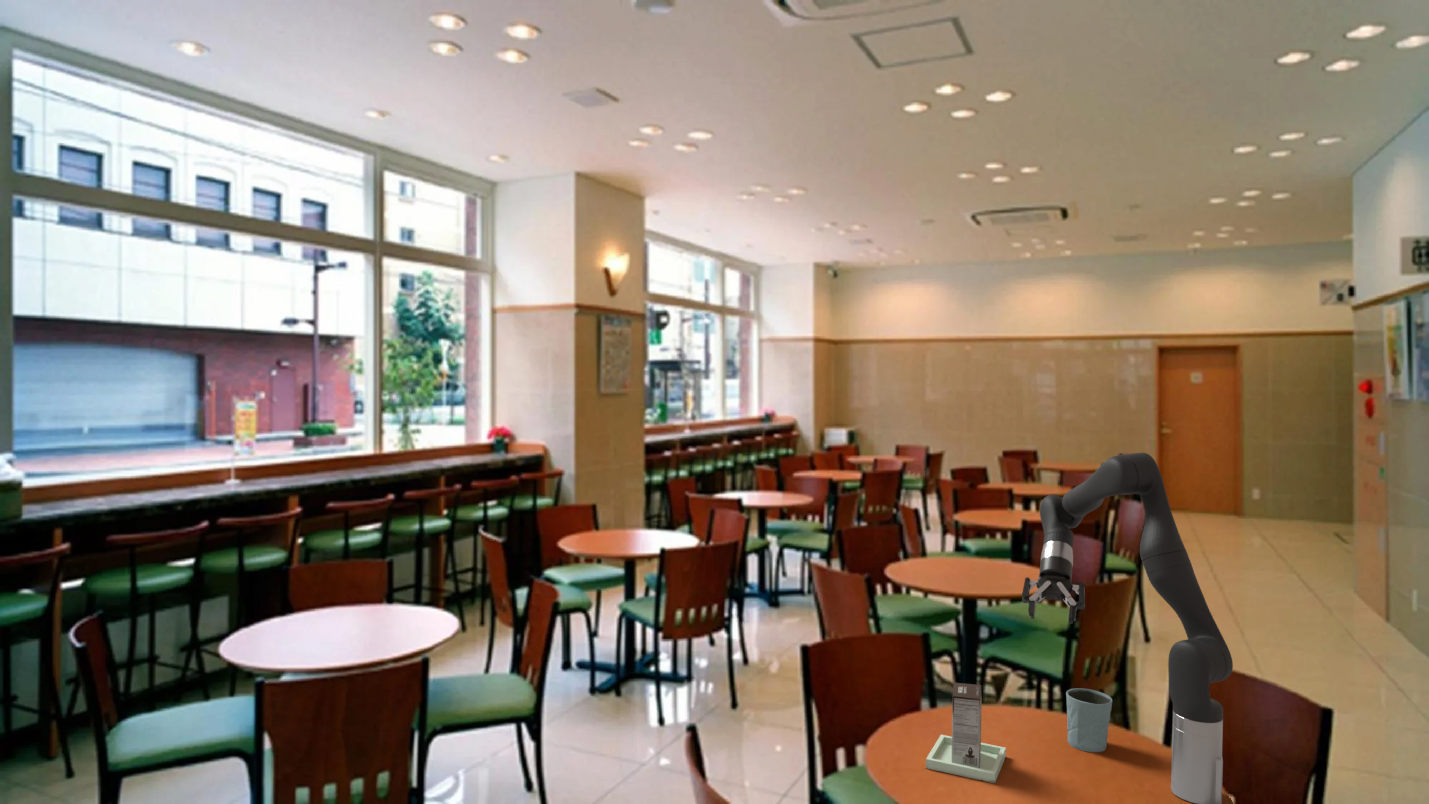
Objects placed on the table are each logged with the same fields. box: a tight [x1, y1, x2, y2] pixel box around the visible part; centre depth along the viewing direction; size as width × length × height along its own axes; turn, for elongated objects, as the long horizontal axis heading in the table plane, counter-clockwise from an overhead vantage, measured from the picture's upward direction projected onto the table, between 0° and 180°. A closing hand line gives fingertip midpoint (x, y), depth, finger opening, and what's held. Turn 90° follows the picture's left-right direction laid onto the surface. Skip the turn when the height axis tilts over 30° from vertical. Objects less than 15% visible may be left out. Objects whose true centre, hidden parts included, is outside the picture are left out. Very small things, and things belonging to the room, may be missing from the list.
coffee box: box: [951, 682, 983, 768], centre depth 194 cm, size 9×6×16 cm
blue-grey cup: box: [1065, 687, 1113, 753], centre depth 203 cm, size 10×10×12 cm
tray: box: [925, 734, 1007, 784], centre depth 193 cm, size 15×15×2 cm
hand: (1051, 619), depth 203 cm, fingers open, 8 cm apart
